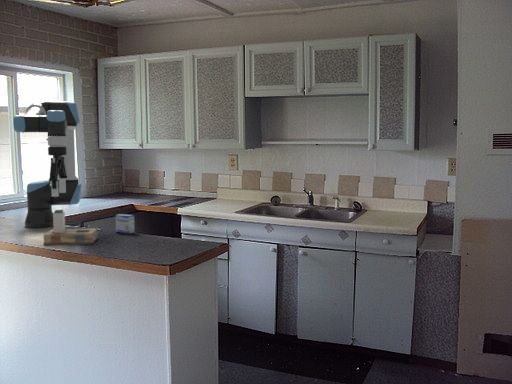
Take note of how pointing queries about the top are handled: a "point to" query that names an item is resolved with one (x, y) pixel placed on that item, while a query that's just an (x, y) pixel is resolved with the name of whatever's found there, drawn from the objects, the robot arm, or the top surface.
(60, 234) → the socket block
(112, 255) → the top surface
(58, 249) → the top surface
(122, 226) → the medicine box
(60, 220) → the plug
